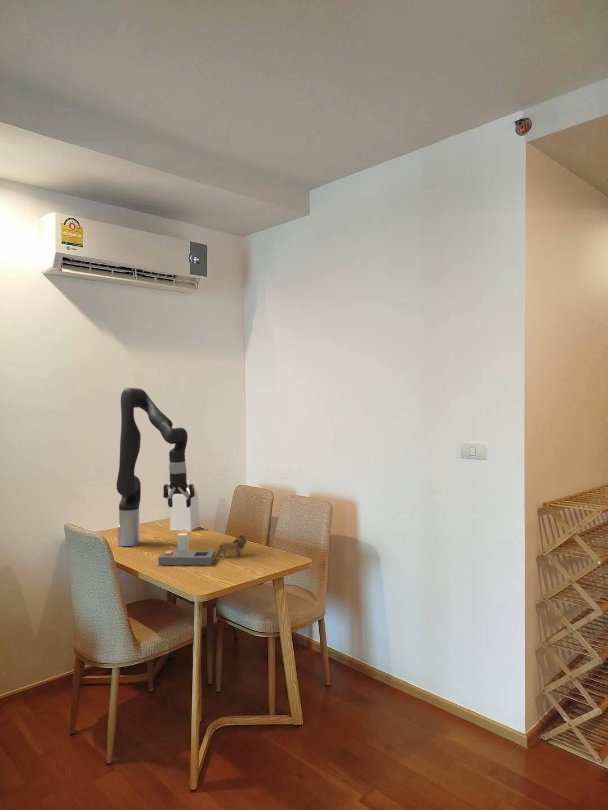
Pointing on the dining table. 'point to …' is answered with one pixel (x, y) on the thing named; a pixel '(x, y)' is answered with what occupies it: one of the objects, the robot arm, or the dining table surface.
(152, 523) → the dining table surface
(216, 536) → the dining table surface
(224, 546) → the lion figurine
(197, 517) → the milk
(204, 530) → the dining table surface
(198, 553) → the grey board with slot
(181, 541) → the white rectangular block
